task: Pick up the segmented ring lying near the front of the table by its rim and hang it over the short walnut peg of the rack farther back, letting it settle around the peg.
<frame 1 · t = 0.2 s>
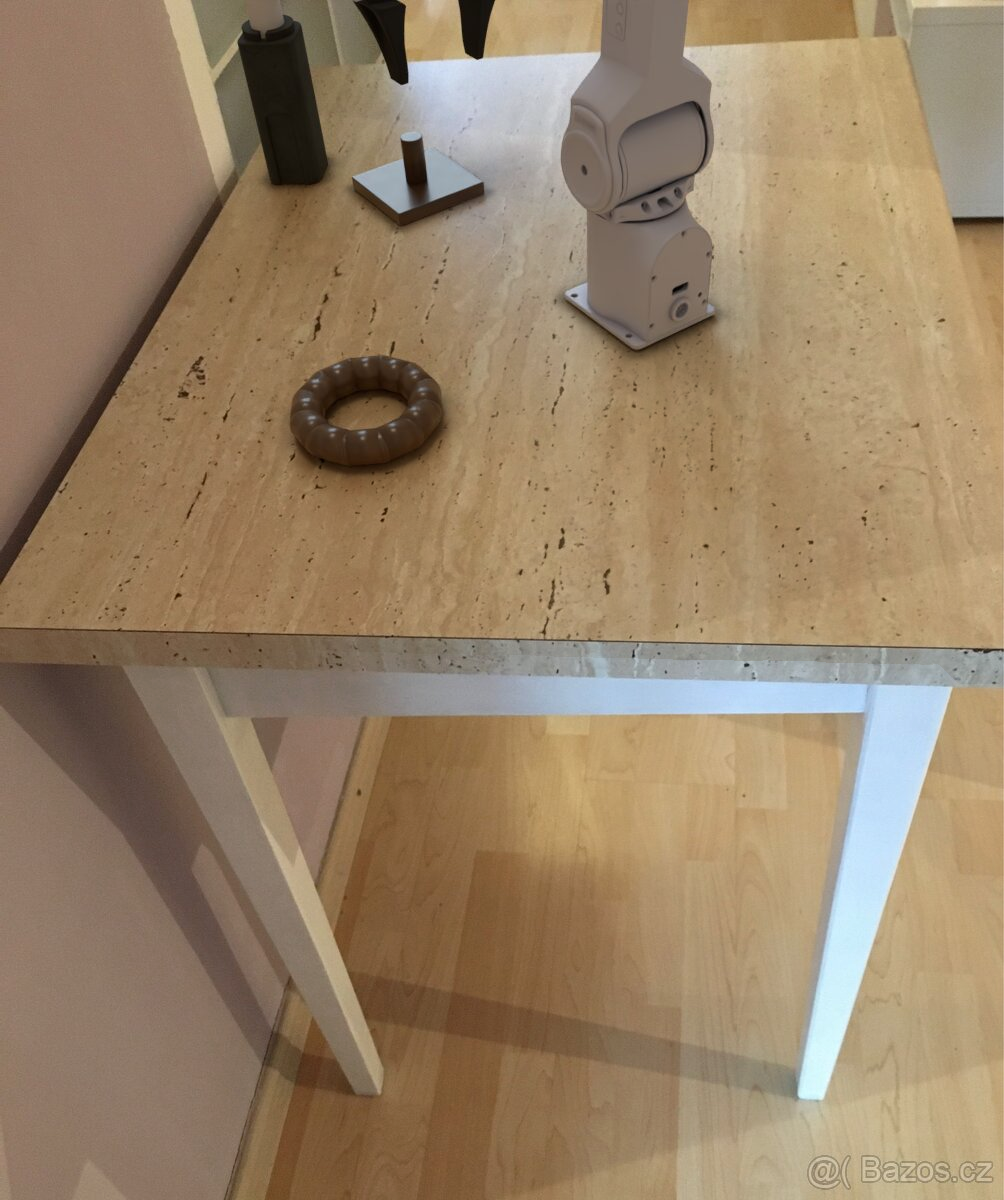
hand: (437, 68, 92), 10 cm above the table, tool pointing down, fingers open, 7 cm apart
segmented ring: (366, 408, 75), point 1 cm above the table
rack: (418, 191, 98), on the table
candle: (299, 173, 102), on the table
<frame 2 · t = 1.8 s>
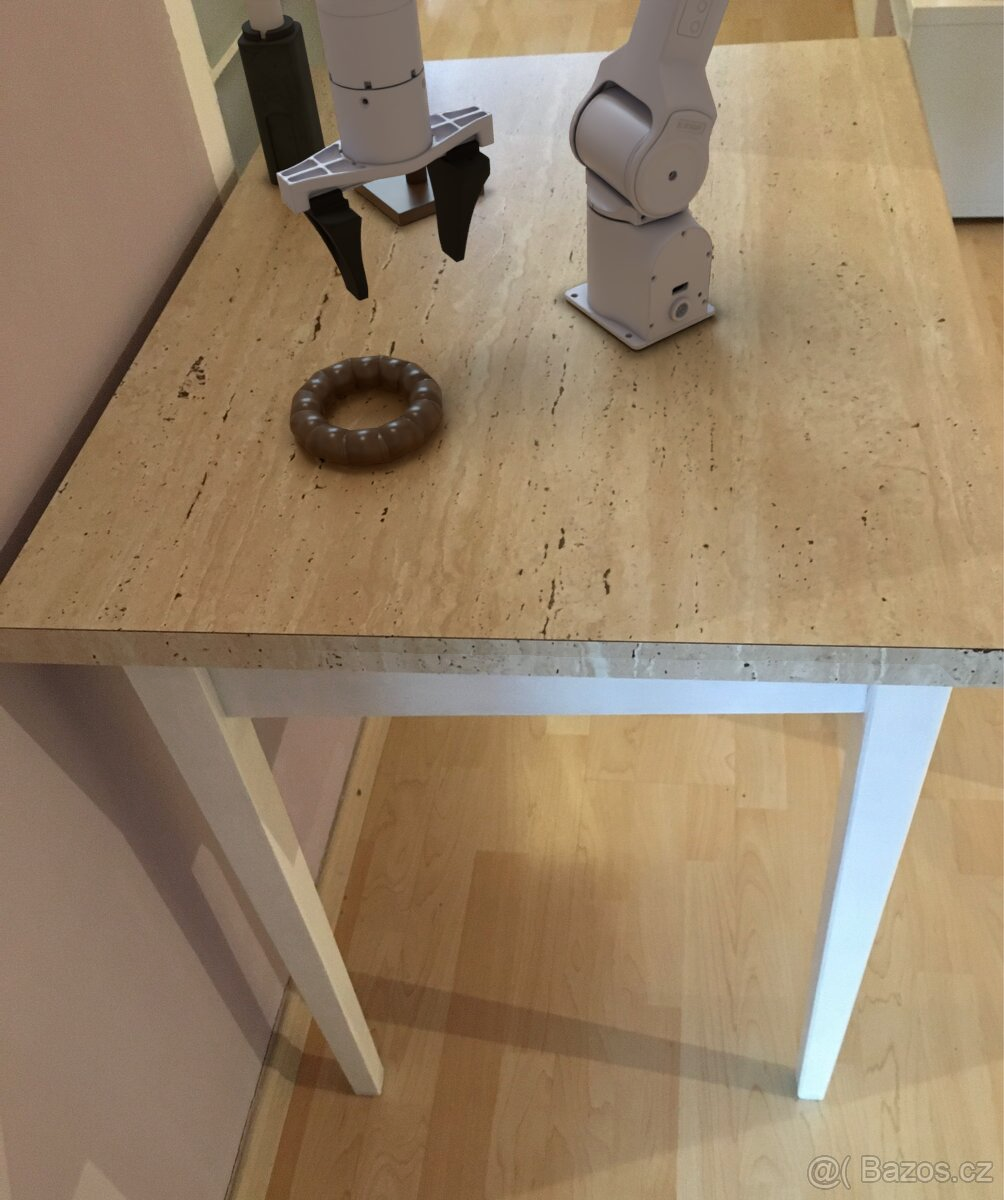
hand: (406, 273, 73), 9 cm above the table, tool pointing down, fingers open, 7 cm apart
nothing on the table moved.
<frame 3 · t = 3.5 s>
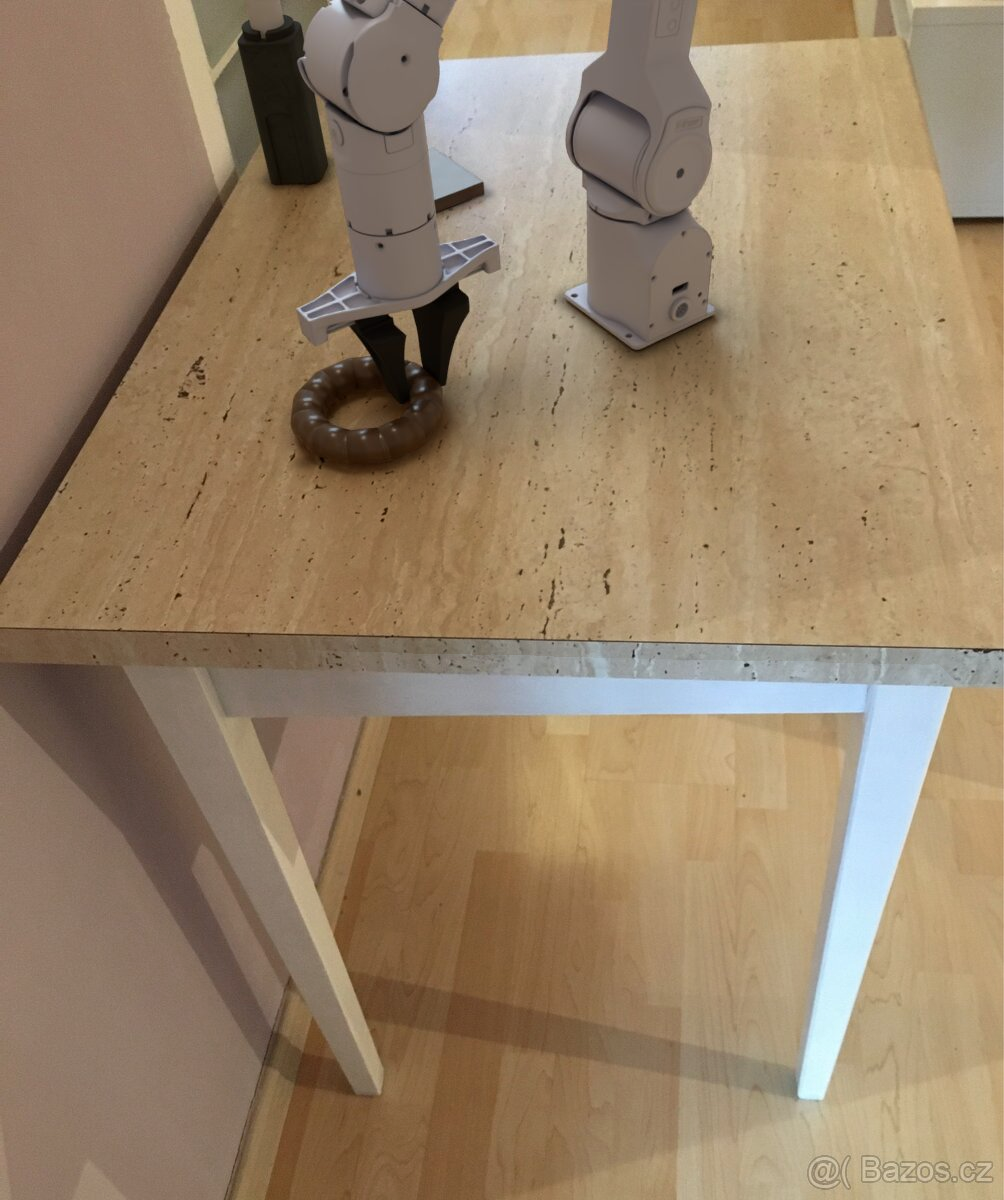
hand: (417, 388, 77), 1 cm above the table, tool pointing down, fingers closed on segmented ring, 2 cm apart
segmented ring: (367, 408, 75), point 1 cm above the table, touching gripper
everything else where it was.
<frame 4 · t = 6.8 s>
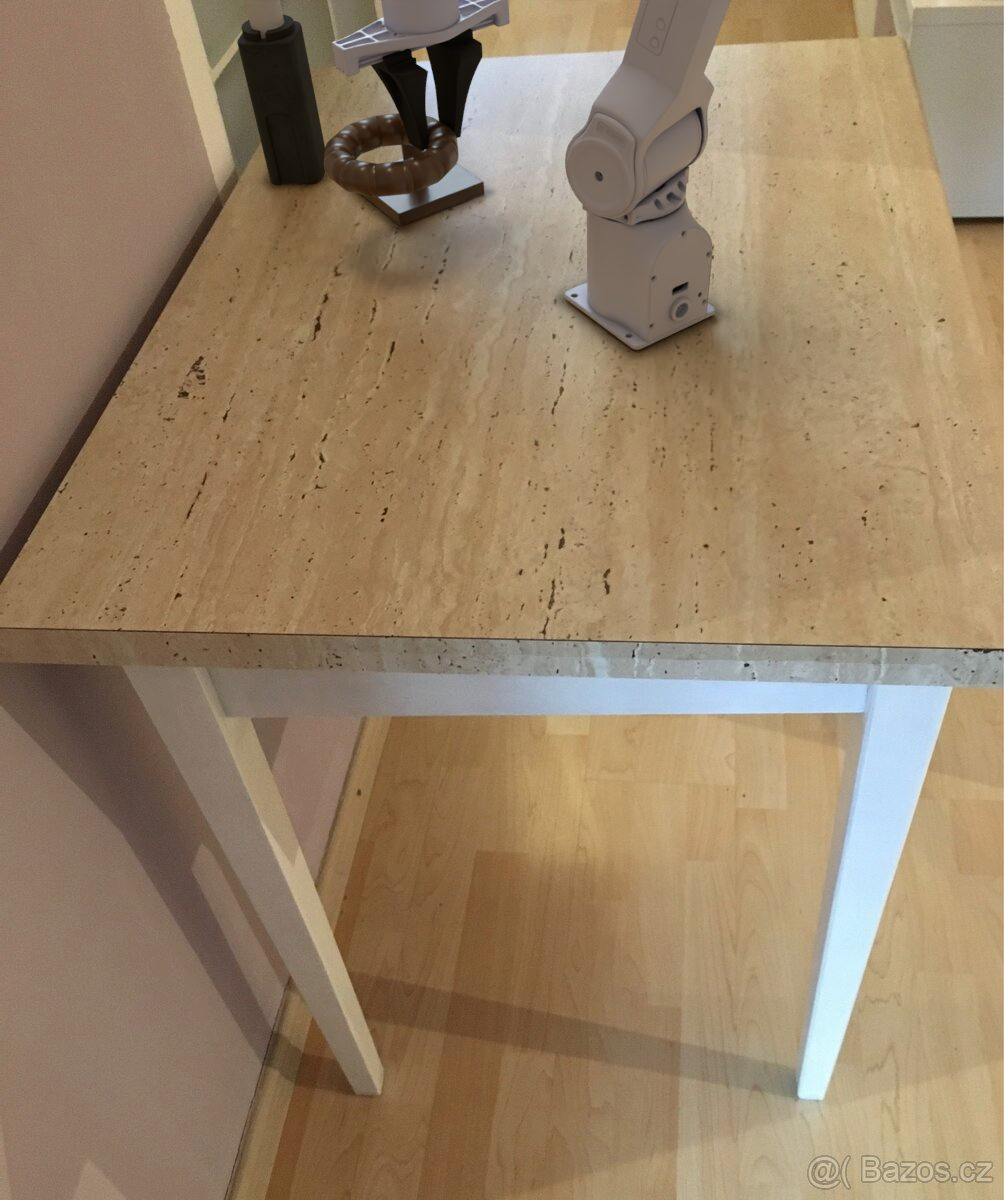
hand: (435, 139, 86), 8 cm above the table, tool pointing down, fingers closed on segmented ring, 2 cm apart
segmented ring: (391, 153, 85), point 9 cm above the table, touching gripper
everything else where it was.
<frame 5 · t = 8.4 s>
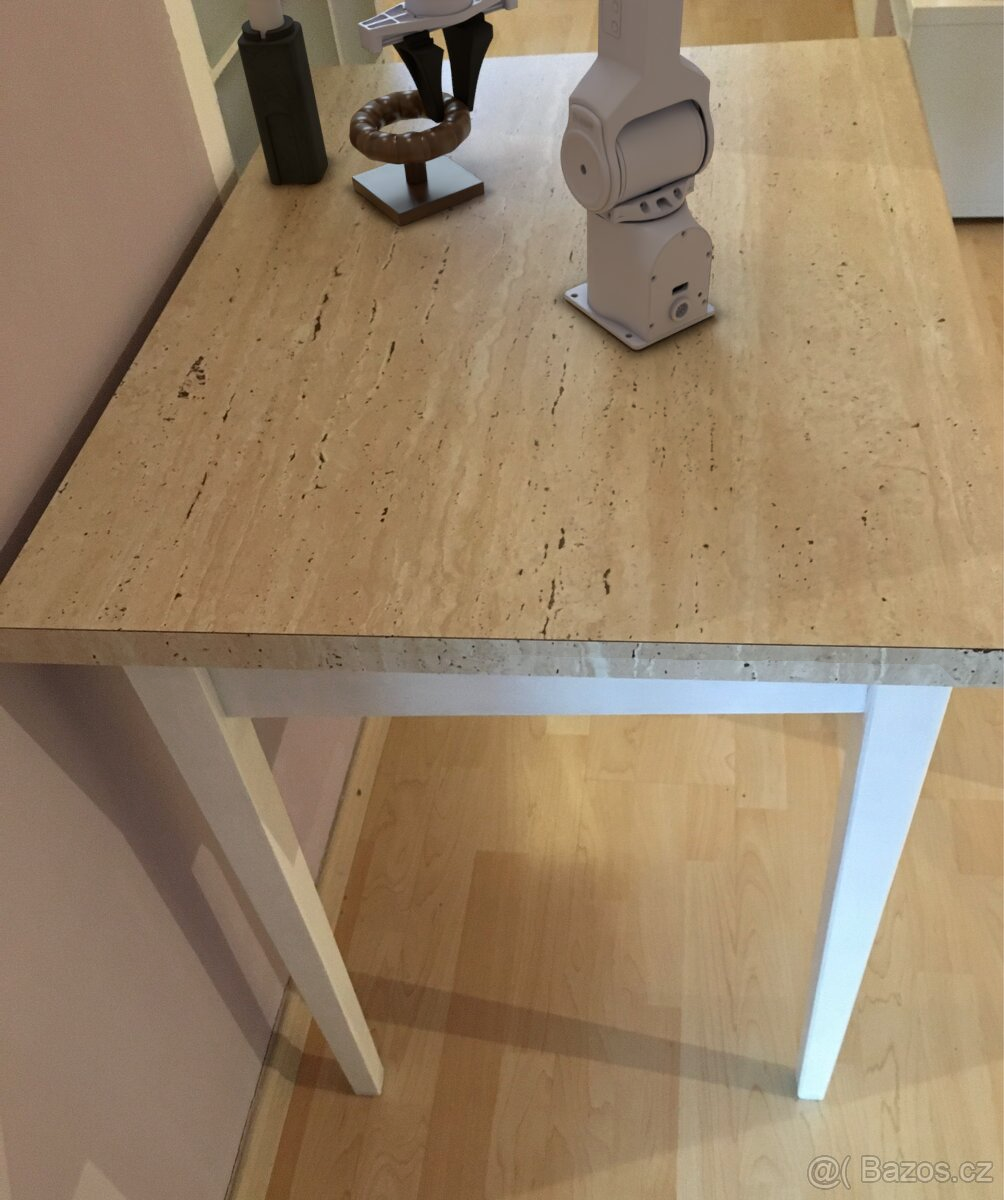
hand: (450, 113, 95), 6 cm above the table, tool pointing down, fingers closed on segmented ring, 2 cm apart
segmented ring: (410, 126, 94), point 6 cm above the table, touching gripper
everything else where it was.
when the fingers open (2 cm above the table, at t = 9.9 s): segmented ring stays where it is, resting on rack.
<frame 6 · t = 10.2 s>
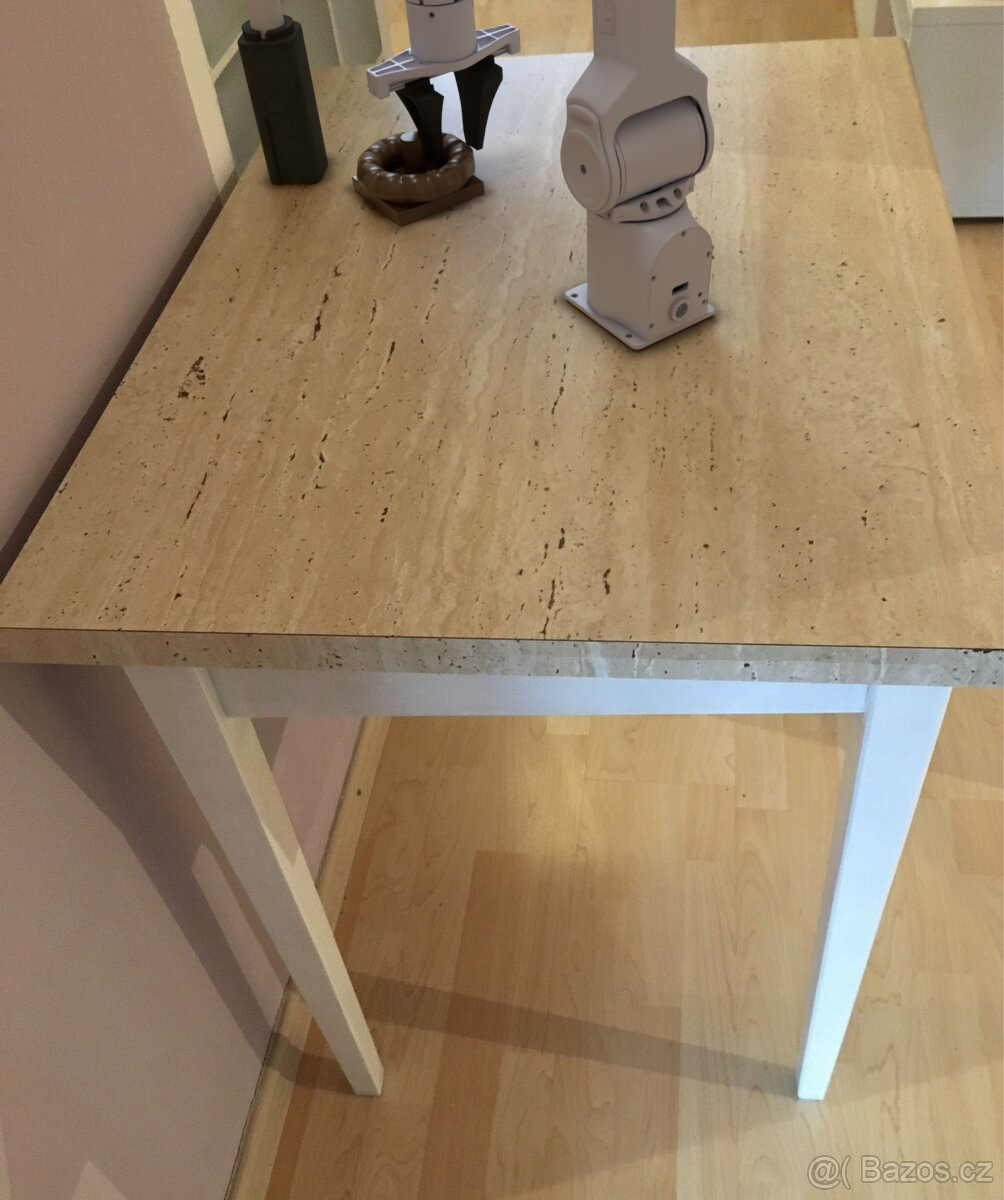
hand: (454, 153, 98), 2 cm above the table, tool pointing down, fingers open, 4 cm apart
segmented ring: (415, 166, 96), point 2 cm above the table, touching rack
everything else where it was.
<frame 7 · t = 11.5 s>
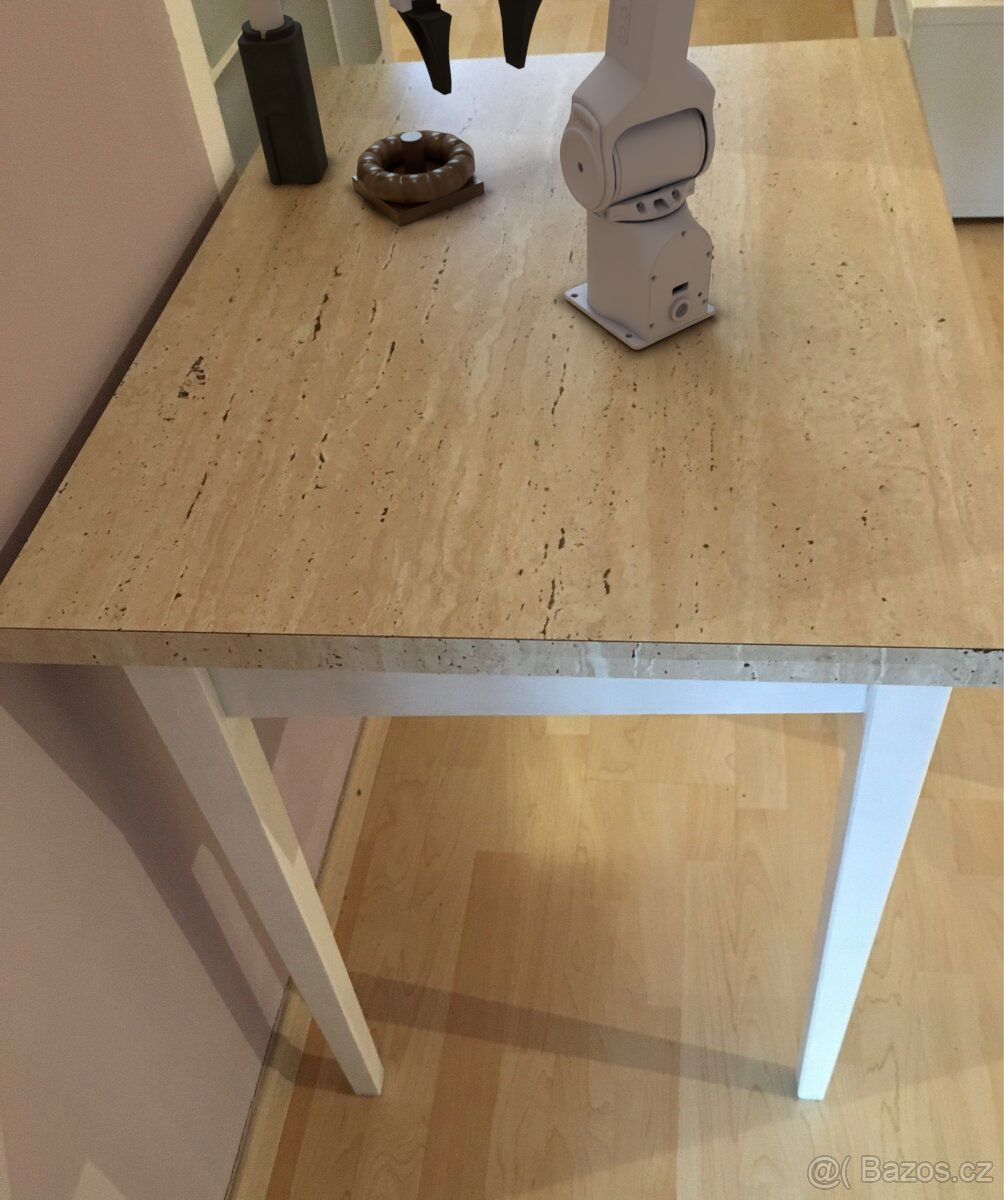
hand: (479, 77, 92), 9 cm above the table, tool pointing down, fingers open, 7 cm apart
nothing on the table moved.
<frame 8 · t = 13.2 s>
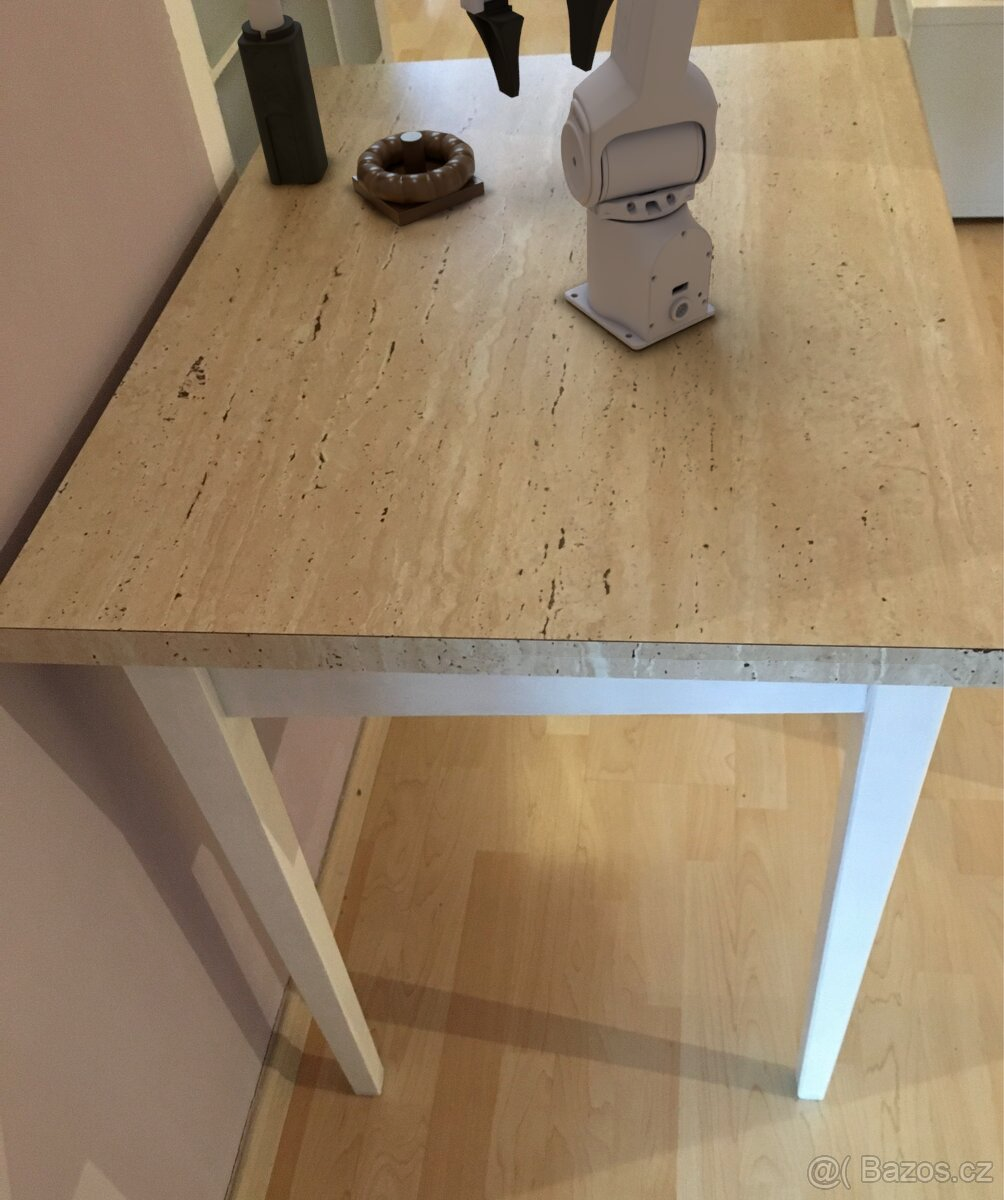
hand: (545, 80, 90), 9 cm above the table, tool pointing down, fingers open, 7 cm apart
nothing on the table moved.
at the end: segmented ring 0.1 cm from the rack (horizontally); segmented ring point 2.4 cm above the table; the gripper is holding nothing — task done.
